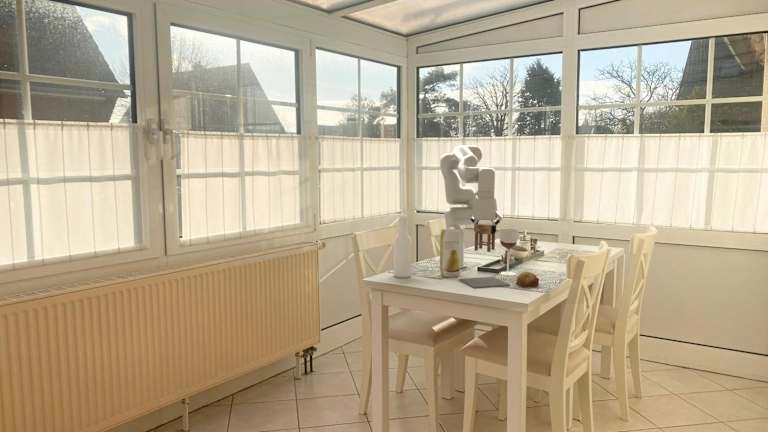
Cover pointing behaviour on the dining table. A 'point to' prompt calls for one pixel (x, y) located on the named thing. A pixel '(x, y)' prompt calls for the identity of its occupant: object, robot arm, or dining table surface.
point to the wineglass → (508, 243)
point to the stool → (482, 229)
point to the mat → (484, 282)
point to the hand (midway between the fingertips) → (485, 233)
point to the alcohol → (402, 250)
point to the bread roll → (527, 280)
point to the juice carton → (450, 252)
